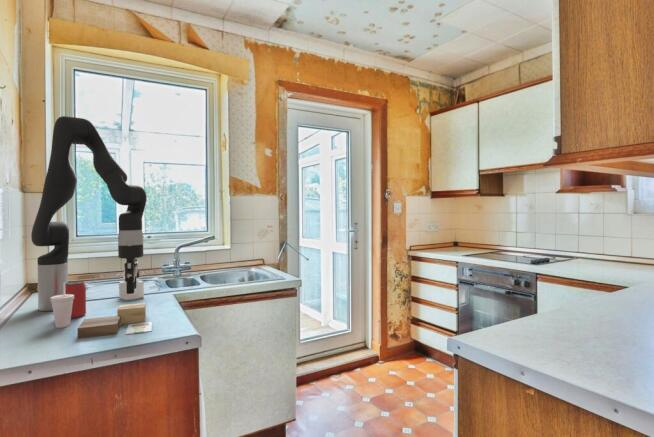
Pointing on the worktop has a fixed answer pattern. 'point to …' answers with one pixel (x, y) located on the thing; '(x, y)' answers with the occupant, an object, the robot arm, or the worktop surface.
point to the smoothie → (62, 308)
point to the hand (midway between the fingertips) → (131, 291)
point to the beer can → (77, 297)
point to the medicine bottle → (137, 292)
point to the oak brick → (132, 313)
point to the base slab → (99, 326)
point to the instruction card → (139, 328)
